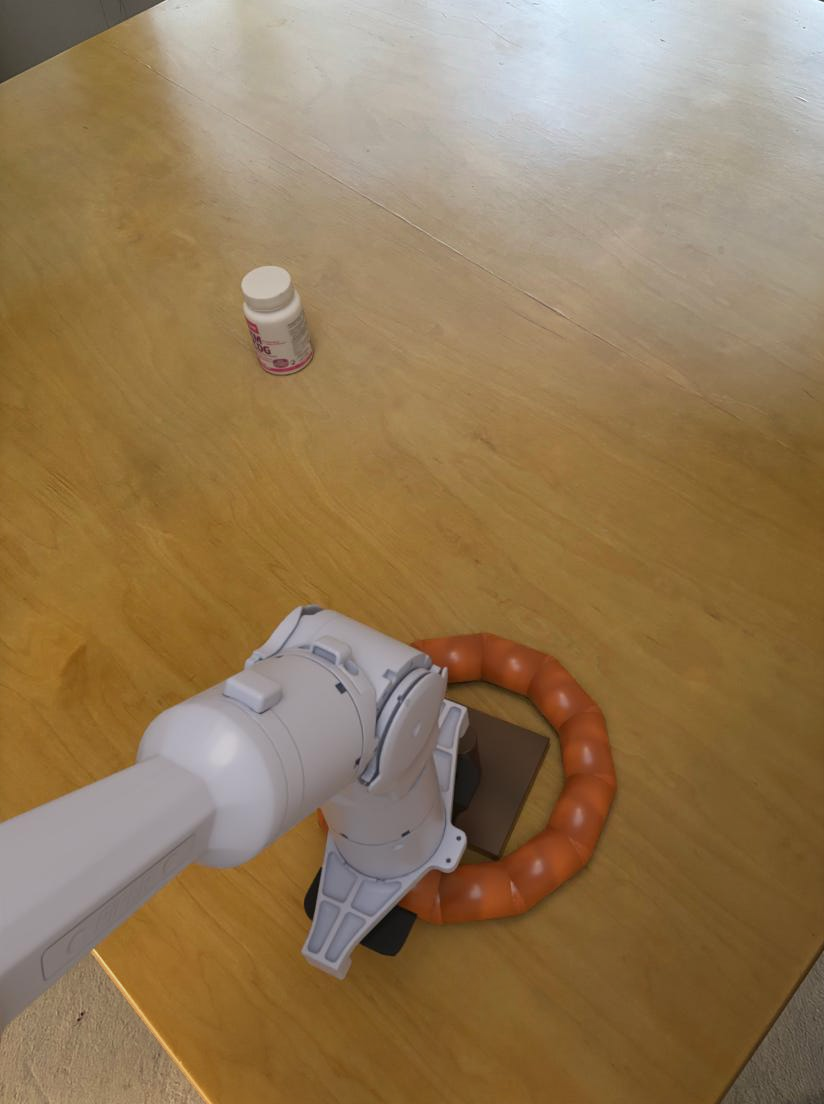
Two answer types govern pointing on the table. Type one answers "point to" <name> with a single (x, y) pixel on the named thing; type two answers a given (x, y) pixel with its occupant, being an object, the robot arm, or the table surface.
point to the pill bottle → (276, 320)
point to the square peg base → (497, 779)
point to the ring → (577, 807)
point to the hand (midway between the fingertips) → (409, 882)
